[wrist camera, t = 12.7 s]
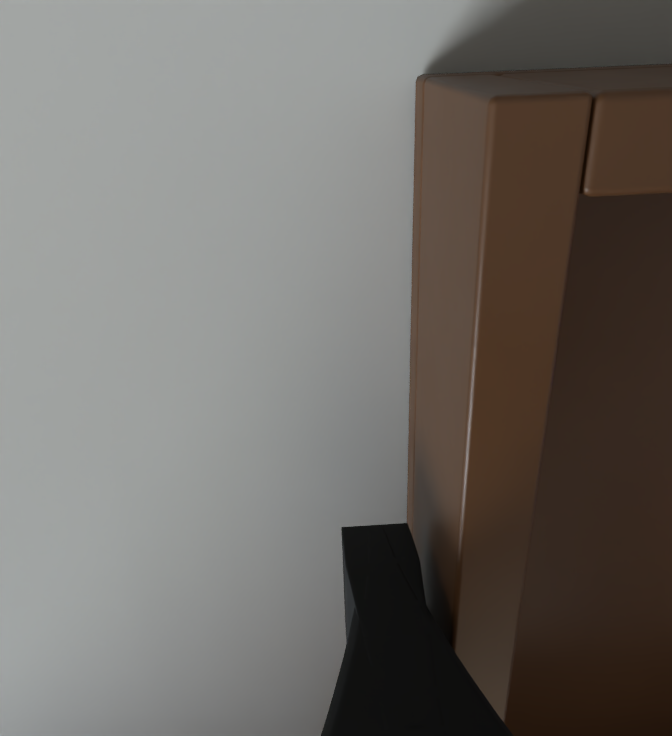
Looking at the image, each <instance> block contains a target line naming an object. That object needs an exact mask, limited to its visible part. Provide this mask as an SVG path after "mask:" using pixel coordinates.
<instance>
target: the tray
mask: <svg viewBox="0 0 672 736" xmlns="http://www.w3.org/2000/svg"><path fill="white" fill-rule="evenodd" d="M407 523H408V526H409V529H410V531H411V534H412V537H413V540H414V543H415V546H416V549H417V552H418V556H419V559H420V564H421V571H422V578H423V585H424V592H425V599H426V605H427V607H428V609H429V611H430V612H431V614H432V616H433V617H434V619H435V621H436V622H437V624H438V625H439V627H440V629H441V630H442V632H443V633H444V635H445V637H446V638H447V640H448V642H449V643H450V645H451V646H452V648H453V650H454V651H455V653H456V654H457V656H458V657H459V659H460V660H461V662H462V663H463V665H464V666H465V668H466V669H467V671H468V673H469V674H470V676H471V677H472V678H473V680H474V681H475V683H476V684H477V686H478V687H479V688H480V690H481V691H482V693H483V694H484V696H485V697H486V698H487V700H488V701H489V703H490V704H491V706H492V707H493V708H494V710H495V711H496V713H497V714H498V715H499V717H500V718H501V719H502V721H503V722H504V723H505V725H506V726H507V727H508V729H509V730H510V732H511V733H512V734H513V735H514V736H672V64H656V65H633V66H609V67H586V68H563V69H539V70H516V71H493V72H469V73H446V74H422V75H420V76H418V77H417V80H416V100H415V149H414V198H413V247H412V296H411V345H410V394H409V444H408V493H407Z"/></svg>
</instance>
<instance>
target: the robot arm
mask: <svg viewBox="0 0 672 736" xmlns="http://www.w3.org/2000/svg"><path fill="white" fill-rule="evenodd" d="M342 550H343V574H344V598H345V623H346V638H347V645H346V650H345V654H344V658H343V662H342V665H341V669H340V672H339V676H338V680H337V683H336V687H335V690H334V694H333V698H332V701H331V705H330V708H329V712H328V715H327V718H326V722H325V725H324V728H323V731H322V734H321V736H514V735H513V734H512V733H511V732H510V730H509V729H508V727H507V726H506V725H505V723H504V722H503V721H502V719H501V718H500V717H499V715H498V714H497V713H496V711H495V710H494V708H493V707H492V706H491V704H490V703H489V701H488V700H487V698H486V697H485V696H484V694H483V693H482V691H481V690H480V688H479V687H478V686H477V684H476V683H475V681H474V680H473V678H472V677H471V676H470V674H469V673H468V671H467V669H466V668H465V666H464V665H463V663H462V662H461V660H460V659H459V657H458V656H457V654H456V653H455V651H454V650H453V648H452V646H451V645H450V643H449V642H448V640H447V638H446V637H445V635H444V633H443V632H442V630H441V629H440V627H439V625H438V624H437V622H436V621H435V619H434V617H433V616H432V614H431V612H430V611H429V609H428V607H427V605H426V599H425V592H424V585H423V578H422V571H421V564H420V559H419V556H418V552H417V549H416V546H415V543H414V540H413V537H412V534H411V531H410V529H409V526H408V523H403V524H387V525H371V526H355V527H342Z"/></svg>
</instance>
